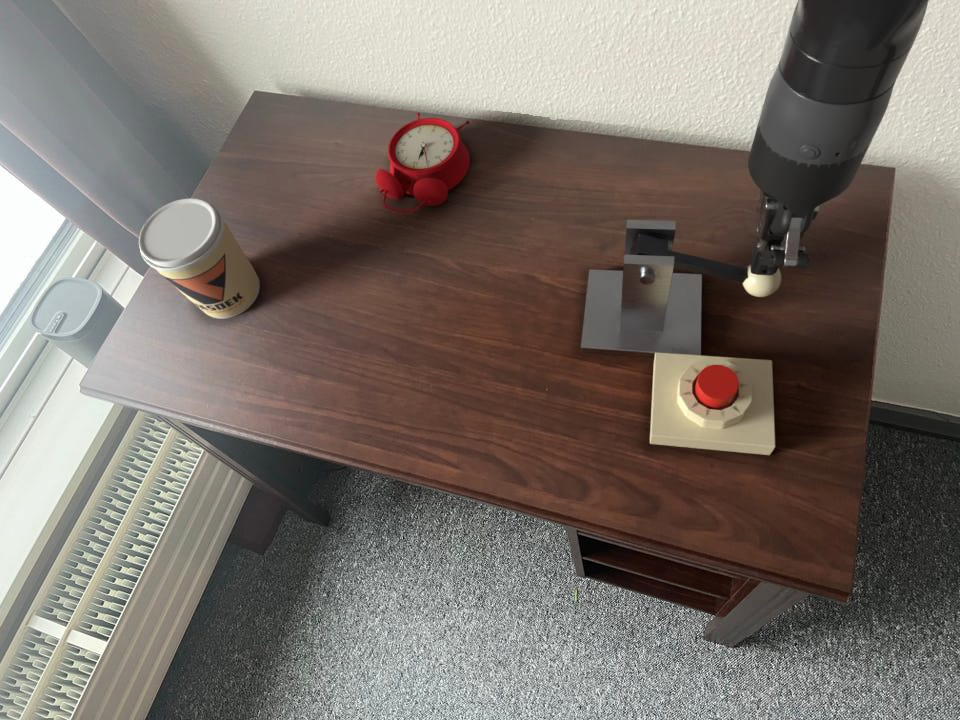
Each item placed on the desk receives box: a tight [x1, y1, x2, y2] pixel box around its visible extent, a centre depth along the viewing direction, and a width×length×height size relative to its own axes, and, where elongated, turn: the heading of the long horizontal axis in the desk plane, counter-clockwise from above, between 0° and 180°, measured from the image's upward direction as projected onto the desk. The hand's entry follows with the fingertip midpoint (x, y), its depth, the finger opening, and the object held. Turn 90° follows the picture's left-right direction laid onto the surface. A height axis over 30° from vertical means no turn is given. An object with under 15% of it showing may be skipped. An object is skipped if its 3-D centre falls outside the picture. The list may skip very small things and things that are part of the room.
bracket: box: [580, 219, 703, 359], centre depth 67 cm, size 12×10×13 cm
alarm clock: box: [374, 112, 471, 214], centre depth 85 cm, size 10×6×15 cm
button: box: [695, 365, 739, 408], centre depth 63 cm, size 4×4×2 cm
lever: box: [630, 234, 782, 298], centre depth 63 cm, size 14×3×3 cm, turn 81°
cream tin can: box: [138, 197, 261, 320], centre depth 77 cm, size 9×9×12 cm
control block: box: [649, 352, 776, 456], centre depth 65 cm, size 11×9×4 cm
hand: (762, 267), depth 62 cm, fingers closed
